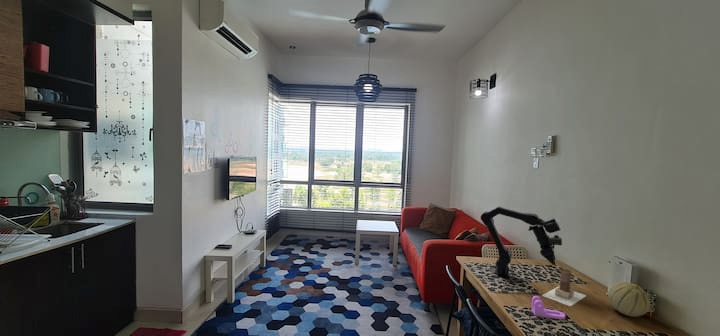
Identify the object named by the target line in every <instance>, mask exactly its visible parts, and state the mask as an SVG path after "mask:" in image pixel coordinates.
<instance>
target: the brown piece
mask: <svg viewBox="0 0 720 336" xmlns="http://www.w3.org/2000/svg"><path fill="white" fill-rule="evenodd" d="M559 276H560V279H559V286H560V287H559V288H557V289H555V288H554V289H555V295H556V296H559V297H562V298H565V299H567V300H568V299H570V298H571V297H573V296H574V291H575V290H574V289H571V279H572V278H571V277H572V271H571V270H569V269H564V268H562V269H560V275H559Z"/></svg>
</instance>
